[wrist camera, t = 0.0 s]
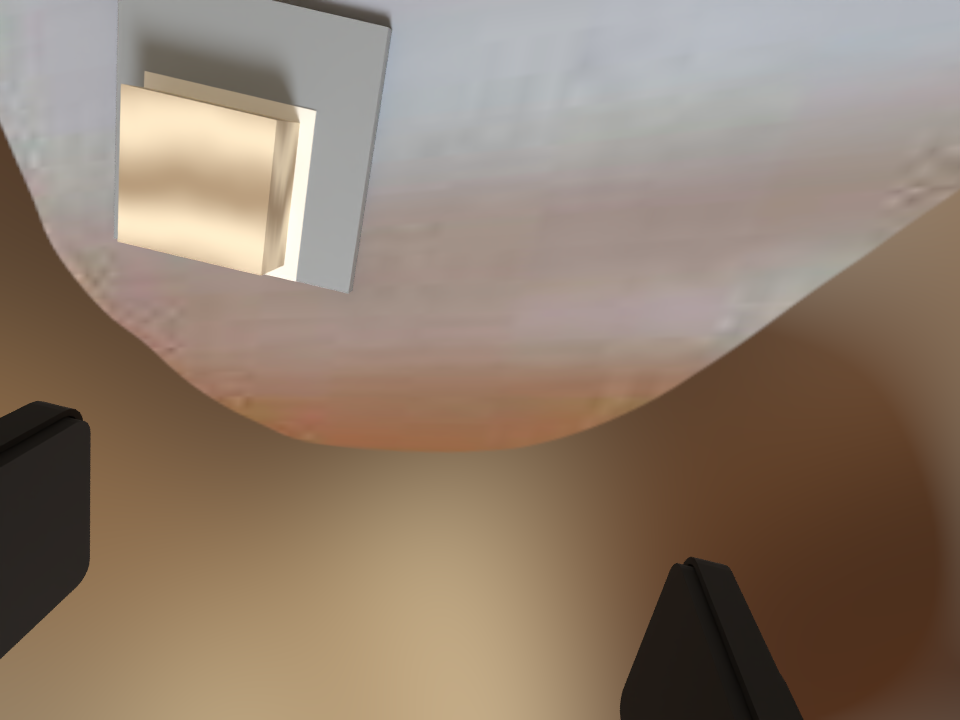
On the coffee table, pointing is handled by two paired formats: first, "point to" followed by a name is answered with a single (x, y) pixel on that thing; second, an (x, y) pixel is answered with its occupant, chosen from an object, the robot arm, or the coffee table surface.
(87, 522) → the robot arm
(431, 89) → the coffee table surface
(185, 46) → the board
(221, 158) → the pedestal block
